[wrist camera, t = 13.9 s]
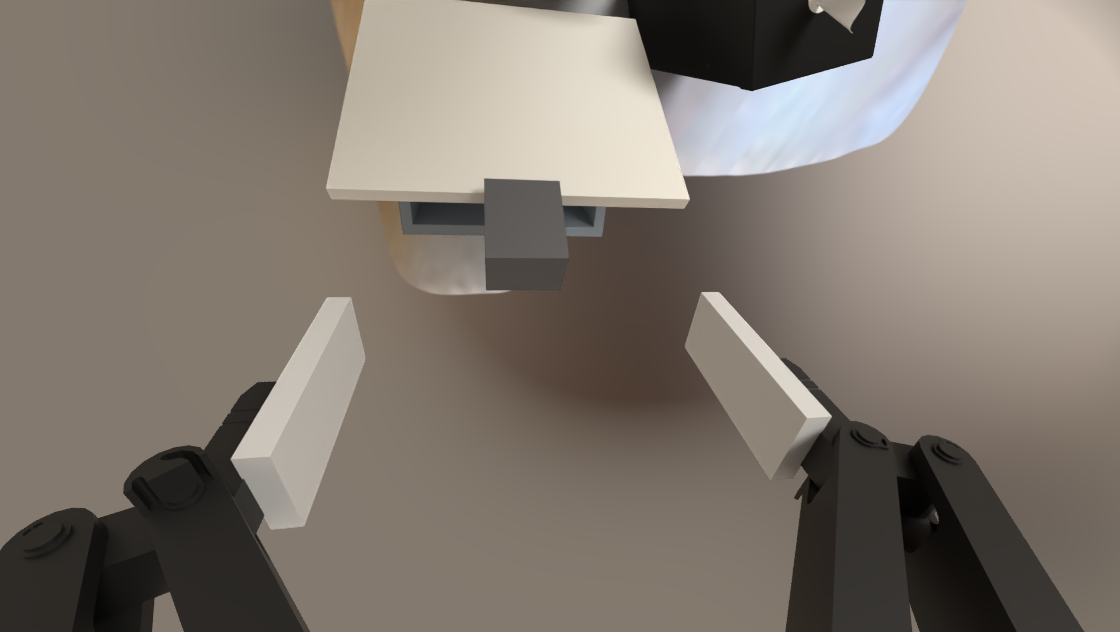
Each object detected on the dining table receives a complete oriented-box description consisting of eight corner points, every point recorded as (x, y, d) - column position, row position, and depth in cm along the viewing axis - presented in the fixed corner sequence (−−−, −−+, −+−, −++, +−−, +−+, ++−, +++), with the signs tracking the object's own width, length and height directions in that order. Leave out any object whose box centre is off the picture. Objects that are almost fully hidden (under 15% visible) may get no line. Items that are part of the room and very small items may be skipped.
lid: (373, 19, 31) (362, -28, 28) (628, 43, 34) (639, 3, 32) (323, 291, 21) (298, 257, 18) (696, 288, 24) (721, 258, 21)
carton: (398, 11, 40) (370, 3, 30) (597, 31, 43) (631, 29, 34) (419, 195, 50) (403, 234, 40) (580, 199, 53) (601, 236, 44)
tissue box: (633, 66, 46) (782, 98, 23) (624, -23, 41) (798, -95, 18) (701, 47, 46) (919, 60, 23) (699, -44, 41) (968, -142, 18)
